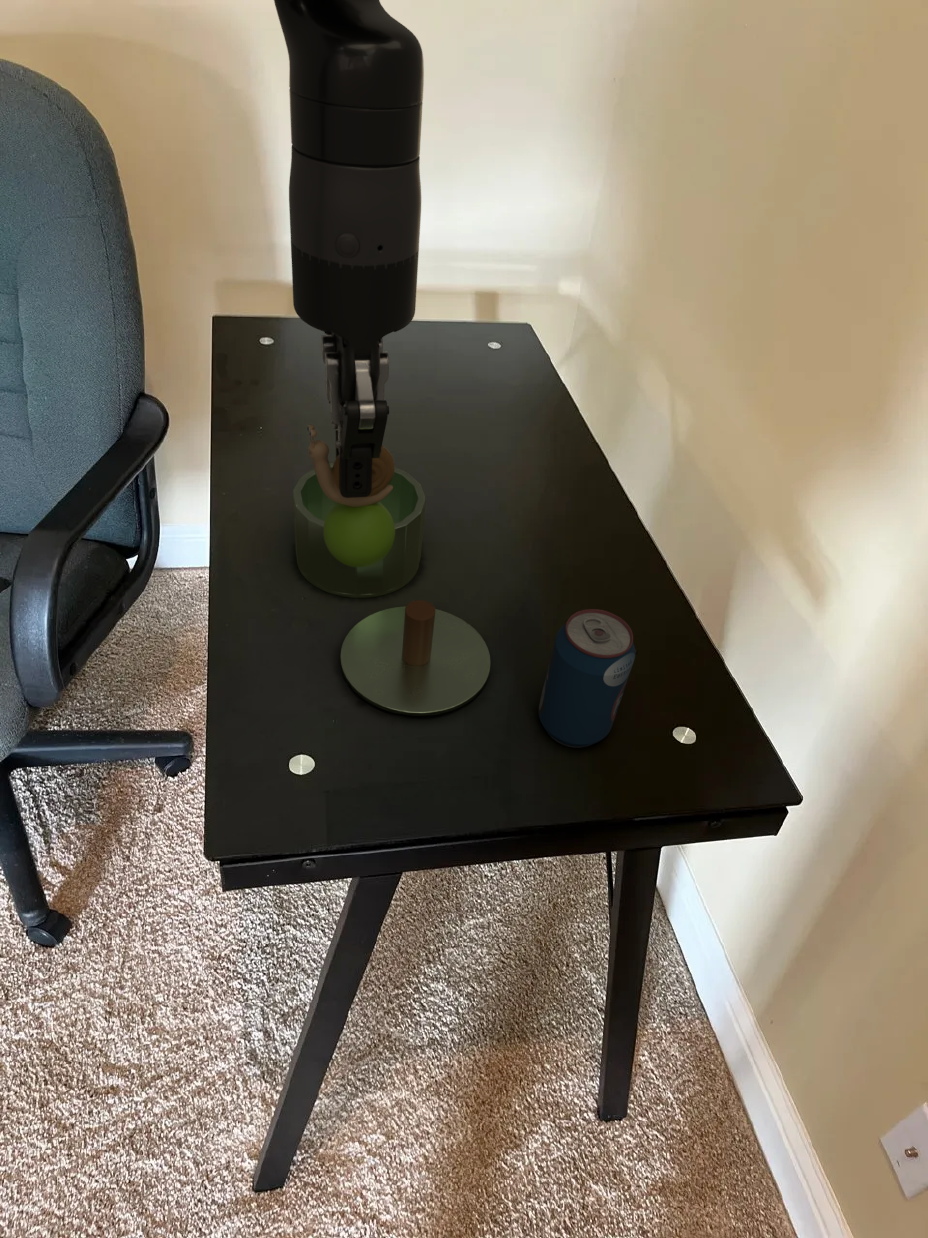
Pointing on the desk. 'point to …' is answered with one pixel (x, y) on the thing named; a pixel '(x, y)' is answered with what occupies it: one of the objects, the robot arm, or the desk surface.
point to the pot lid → (415, 660)
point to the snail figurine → (355, 510)
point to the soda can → (586, 677)
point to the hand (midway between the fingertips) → (353, 484)
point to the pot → (359, 581)
